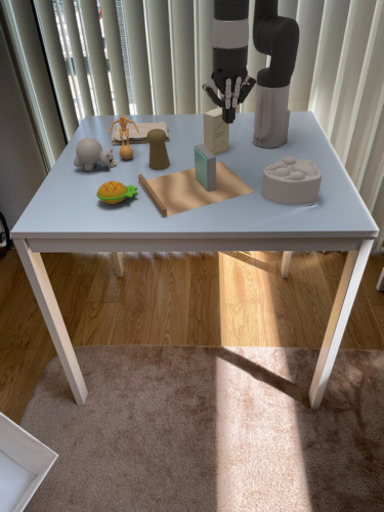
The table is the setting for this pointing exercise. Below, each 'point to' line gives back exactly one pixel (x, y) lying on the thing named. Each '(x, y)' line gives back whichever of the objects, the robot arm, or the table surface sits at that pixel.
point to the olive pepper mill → (158, 150)
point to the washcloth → (137, 137)
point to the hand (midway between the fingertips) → (228, 122)
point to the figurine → (126, 150)
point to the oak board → (191, 190)
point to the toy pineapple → (115, 192)
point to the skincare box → (215, 131)
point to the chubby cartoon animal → (93, 155)
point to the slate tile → (205, 167)
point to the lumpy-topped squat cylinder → (291, 181)
